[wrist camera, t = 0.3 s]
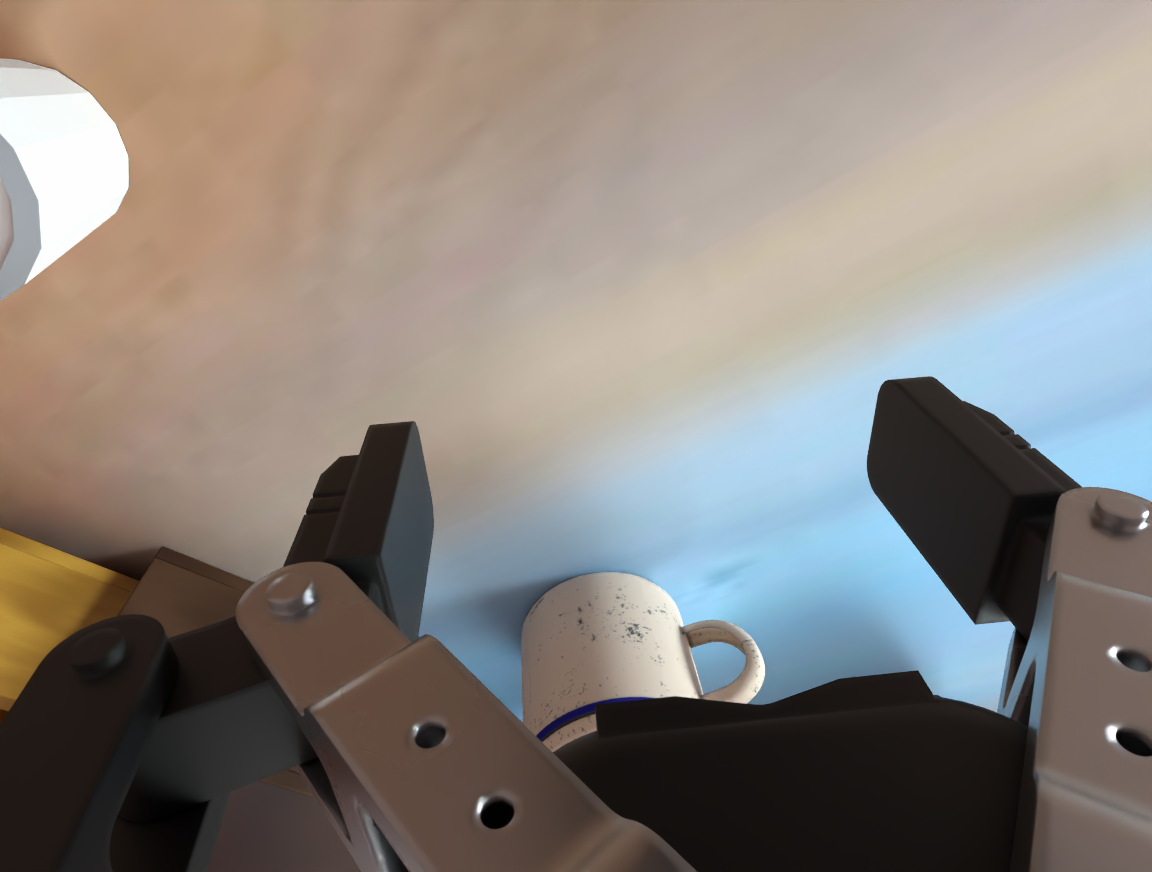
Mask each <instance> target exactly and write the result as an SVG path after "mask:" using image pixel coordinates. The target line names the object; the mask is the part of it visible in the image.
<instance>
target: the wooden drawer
mask: <svg viewBox="0 0 1152 872" xmlns="http://www.w3.org/2000/svg"><path fill="white" fill-rule="evenodd" d="M138 583H139V581H138V580H135V579H133V578H130V577H128V576H125V575H122V574H120V573H117V572H114V571H112V570H109V569H107V568H104V567H101V566H99V565H96V564H94V563H91V562H88V561H86V560H83V559H81V558H78V557H75V556H73V555H70V554H67V553H65V552H62V551H60V550H57V549H54V548H52V547H49V546H47V545H44V544H41V543H39V542H36V541H33V540H31V539H28V538H26V537H23V536H20V535H18V534H15V533H13V532H10V531H7V530H5V529H2V528H0V724H1V722H2V721H3V719H4V718H5V716H6V715H7V713H8V712H9V710H10V709H11V707H12V706H13V704H14V702H15V701H16V699H17V698H18V696H19V695H20V693H21V692H22V690H23V689H24V687H25V685H26V684H27V682H28V681H29V679H30V678H31V676H32V675H33V673H34V672H35V670H36V668H37V667H38V665H39V664H40V663H41V661H42V660H43V659H44V657H45V656H46V655H47V654H48V653H49V652H50V651H51V650H52V649H53V648H55V647H56V646H57V645H58V644H59V643H61V642H62V641H63V640H65V639H66V638H68V637H69V636H70V635H72V634H74V633H76V632H77V631H79V630H81V629H83V628H85V627H87V626H89V625H91V624H94V623H96V622H99V621H102V620H105V619H108V618H112V617H116V616H117V615H118V613H119V612H120V610H121V609H122V607H123V606H124V604H125V603H126V601H127V599H128V598H129V596H130V595H131V593H132V592H133V590H134V589H135V587H136V586H137V584H138Z"/></svg>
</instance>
